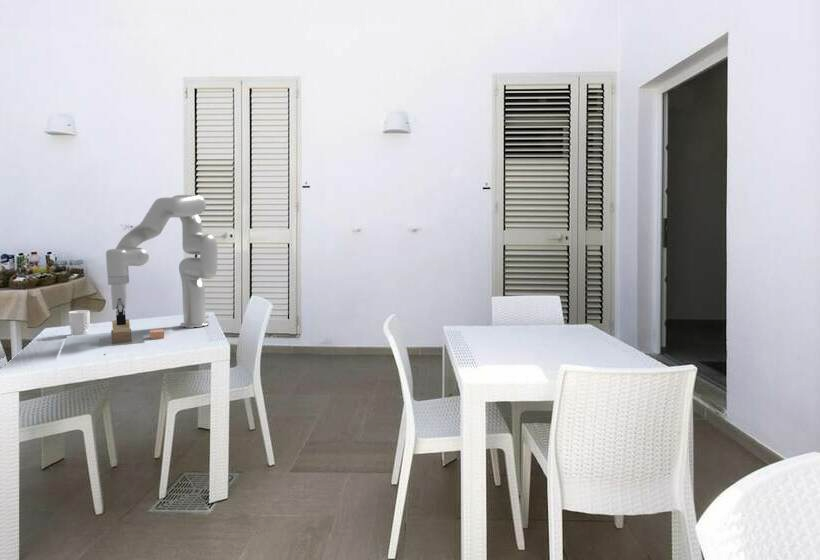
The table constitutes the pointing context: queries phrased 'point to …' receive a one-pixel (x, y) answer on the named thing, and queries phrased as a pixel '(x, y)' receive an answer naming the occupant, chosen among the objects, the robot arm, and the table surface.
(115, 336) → the walnut base block
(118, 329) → the oak block
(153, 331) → the terracotta block
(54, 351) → the table surface
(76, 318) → the white cup
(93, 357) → the table surface
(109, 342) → the slate board
